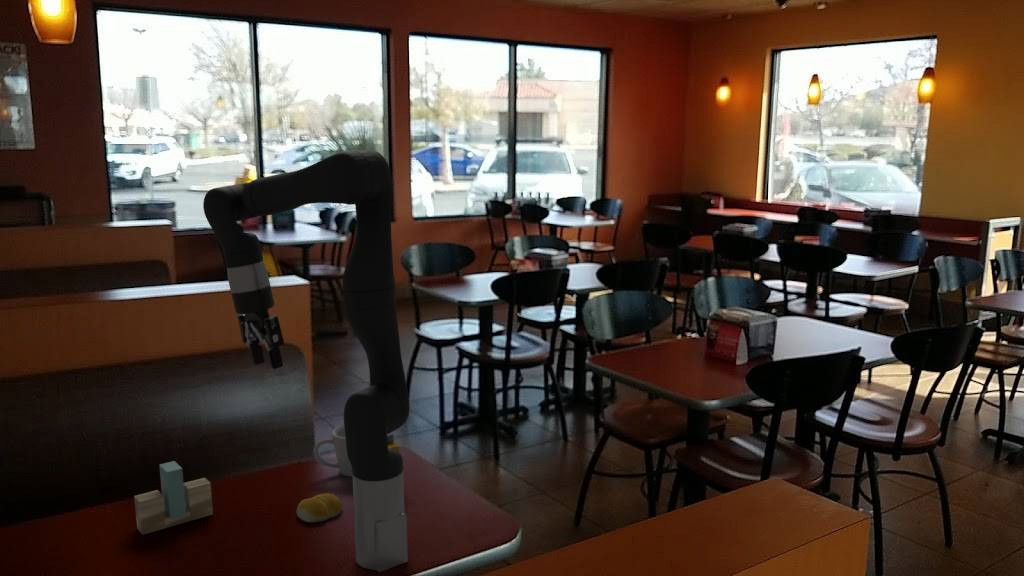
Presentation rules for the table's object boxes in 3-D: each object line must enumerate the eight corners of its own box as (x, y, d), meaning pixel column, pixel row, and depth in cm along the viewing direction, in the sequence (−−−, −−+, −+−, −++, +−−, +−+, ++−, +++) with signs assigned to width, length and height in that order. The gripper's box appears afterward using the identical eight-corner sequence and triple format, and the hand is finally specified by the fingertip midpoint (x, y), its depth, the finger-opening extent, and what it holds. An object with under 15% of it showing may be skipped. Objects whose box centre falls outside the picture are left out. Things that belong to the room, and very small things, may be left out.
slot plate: (212, 514, 170) (210, 482, 169) (142, 534, 161) (139, 502, 160) (207, 508, 173) (204, 477, 171) (137, 528, 164) (134, 496, 163)
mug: (382, 475, 189) (381, 434, 187) (317, 485, 184) (315, 444, 182) (373, 459, 199) (371, 420, 197) (311, 468, 193) (309, 428, 191)
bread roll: (349, 512, 171) (348, 495, 170) (312, 527, 165) (311, 509, 164) (326, 500, 177) (325, 483, 176) (290, 514, 170) (289, 497, 169)
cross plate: (186, 514, 166) (182, 468, 164) (170, 518, 164) (166, 472, 162) (178, 506, 169) (174, 460, 168) (163, 510, 168) (159, 464, 166)
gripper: (283, 283, 156) (301, 363, 159) (253, 281, 167) (270, 356, 170) (247, 292, 151) (265, 375, 154) (218, 290, 162) (236, 367, 165)
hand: (268, 365), depth 162 cm, fingers open, 8 cm apart
